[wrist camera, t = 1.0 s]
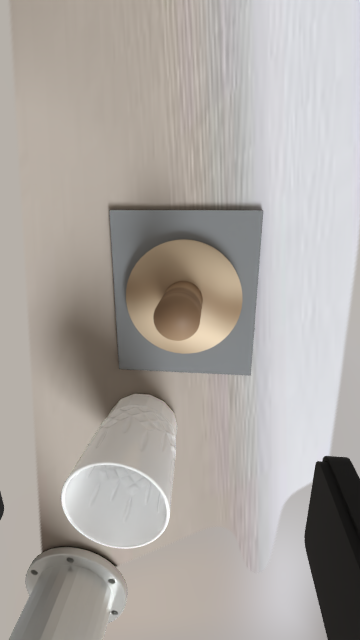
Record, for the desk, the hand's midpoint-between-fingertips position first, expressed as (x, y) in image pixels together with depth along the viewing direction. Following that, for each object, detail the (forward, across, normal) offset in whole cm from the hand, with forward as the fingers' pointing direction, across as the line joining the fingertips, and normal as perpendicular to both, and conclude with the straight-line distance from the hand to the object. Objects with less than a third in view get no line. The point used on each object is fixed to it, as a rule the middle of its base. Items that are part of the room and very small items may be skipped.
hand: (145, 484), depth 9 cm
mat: (+20, +1, 0) cm, 20 cm away
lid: (+20, +1, 0) cm, 20 cm away
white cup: (+20, +5, +13) cm, 25 cm away
